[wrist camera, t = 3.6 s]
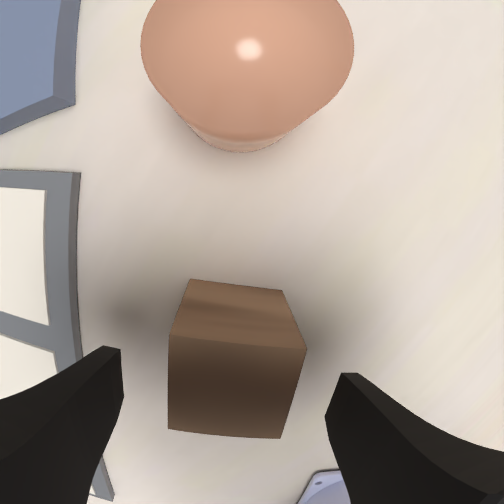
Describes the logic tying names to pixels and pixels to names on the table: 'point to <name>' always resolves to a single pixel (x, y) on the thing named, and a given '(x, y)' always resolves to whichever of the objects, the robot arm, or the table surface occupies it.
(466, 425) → the table surface
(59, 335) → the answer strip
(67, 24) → the slate blue flat block
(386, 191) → the table surface
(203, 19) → the peach dome-topped cylinder
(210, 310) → the block
